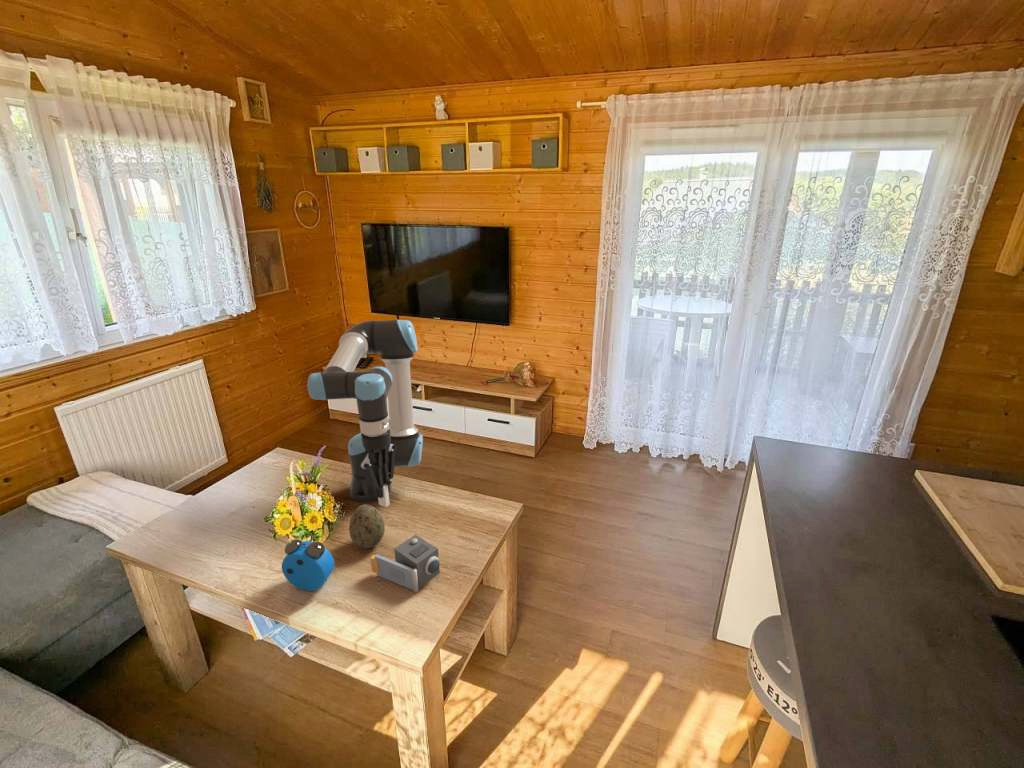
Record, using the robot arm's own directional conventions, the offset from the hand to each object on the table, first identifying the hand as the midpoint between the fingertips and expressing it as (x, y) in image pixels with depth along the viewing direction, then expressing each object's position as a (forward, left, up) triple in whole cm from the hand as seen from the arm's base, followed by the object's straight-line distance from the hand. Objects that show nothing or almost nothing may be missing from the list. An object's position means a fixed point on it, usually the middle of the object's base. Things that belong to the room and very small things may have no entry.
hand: (384, 504), depth 137 cm
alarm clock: (-5, -22, -23) cm, 32 cm away
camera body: (+7, +6, -22) cm, 24 cm away
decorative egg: (-13, -3, -23) cm, 26 cm away
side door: (+7, -1, -22) cm, 23 cm away
